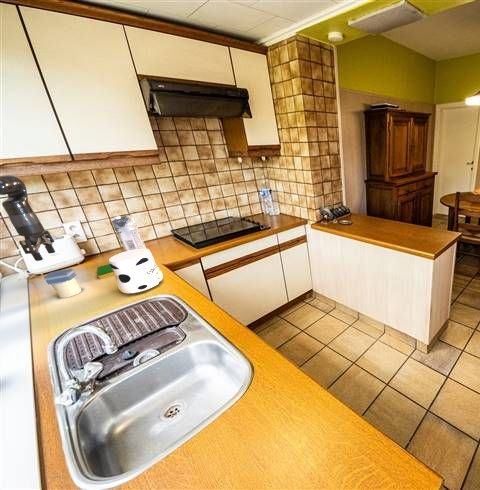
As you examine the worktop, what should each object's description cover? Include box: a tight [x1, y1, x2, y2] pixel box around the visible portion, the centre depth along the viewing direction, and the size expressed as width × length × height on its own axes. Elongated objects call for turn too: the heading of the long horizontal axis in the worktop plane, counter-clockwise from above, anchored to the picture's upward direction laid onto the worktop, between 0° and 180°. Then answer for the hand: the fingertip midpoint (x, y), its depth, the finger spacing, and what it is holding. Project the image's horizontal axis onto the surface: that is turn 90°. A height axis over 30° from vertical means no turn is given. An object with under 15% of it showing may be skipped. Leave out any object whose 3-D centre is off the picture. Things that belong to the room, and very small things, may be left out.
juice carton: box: [111, 215, 147, 252], centre depth 162 cm, size 9×10×27 cm
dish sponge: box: [96, 263, 115, 280], centre depth 148 cm, size 7×14×2 cm, turn 44°
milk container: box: [108, 247, 164, 295], centre depth 128 cm, size 17×17×18 cm
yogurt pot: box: [50, 277, 82, 299], centre depth 128 cm, size 8×8×8 cm
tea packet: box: [43, 268, 77, 285], centre depth 126 cm, size 8×5×4 cm, turn 112°
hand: (46, 256), depth 121 cm, fingers open, 8 cm apart
